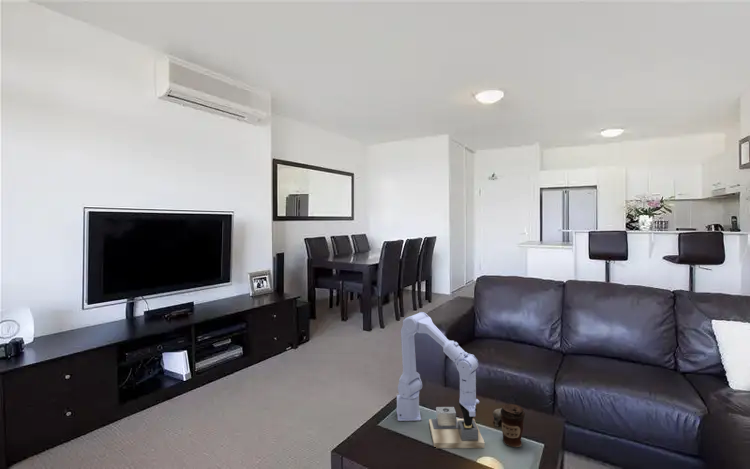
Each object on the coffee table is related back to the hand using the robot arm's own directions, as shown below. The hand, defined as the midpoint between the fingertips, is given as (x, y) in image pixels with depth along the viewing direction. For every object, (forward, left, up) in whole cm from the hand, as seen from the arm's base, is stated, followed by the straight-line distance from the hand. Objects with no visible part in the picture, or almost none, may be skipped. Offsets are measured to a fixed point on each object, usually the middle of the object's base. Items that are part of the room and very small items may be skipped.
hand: (467, 424), depth 135 cm
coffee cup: (+16, -1, -7) cm, 17 cm away
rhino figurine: (+18, +13, -7) cm, 23 cm away
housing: (-7, +8, -4) cm, 11 cm away
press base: (-4, +4, -6) cm, 8 cm away
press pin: (0, 0, -4) cm, 4 cm away
